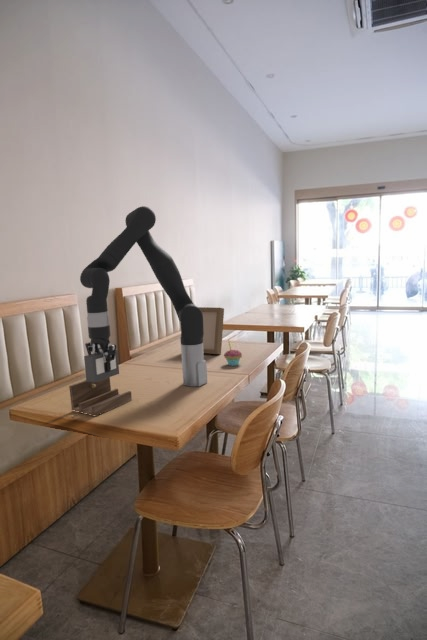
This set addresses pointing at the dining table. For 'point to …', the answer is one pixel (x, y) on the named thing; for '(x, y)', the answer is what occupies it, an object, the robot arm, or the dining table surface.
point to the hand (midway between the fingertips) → (102, 371)
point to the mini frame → (99, 367)
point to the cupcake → (233, 356)
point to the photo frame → (212, 329)
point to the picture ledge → (96, 397)
